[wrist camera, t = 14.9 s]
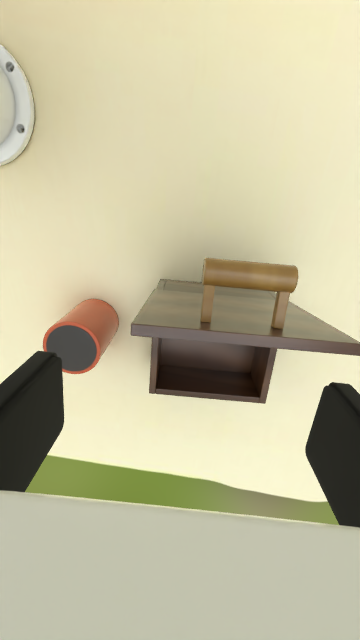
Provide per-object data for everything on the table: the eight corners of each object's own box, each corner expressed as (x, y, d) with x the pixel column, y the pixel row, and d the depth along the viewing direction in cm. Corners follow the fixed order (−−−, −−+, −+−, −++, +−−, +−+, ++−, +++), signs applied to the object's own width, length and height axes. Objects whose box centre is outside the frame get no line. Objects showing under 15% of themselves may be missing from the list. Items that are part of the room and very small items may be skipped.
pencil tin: (66, 329, 42) (34, 358, 33) (83, 290, 40) (54, 311, 31) (107, 349, 42) (86, 383, 34) (126, 312, 40) (109, 339, 32)
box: (254, 375, 43) (265, 403, 37) (154, 366, 43) (149, 393, 37) (270, 288, 39) (287, 303, 32) (160, 279, 39) (154, 291, 32)
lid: (360, 356, 19) (381, 275, 17) (130, 335, 19) (134, 253, 17) (287, 308, 32) (296, 260, 31) (154, 296, 32) (157, 248, 31)
